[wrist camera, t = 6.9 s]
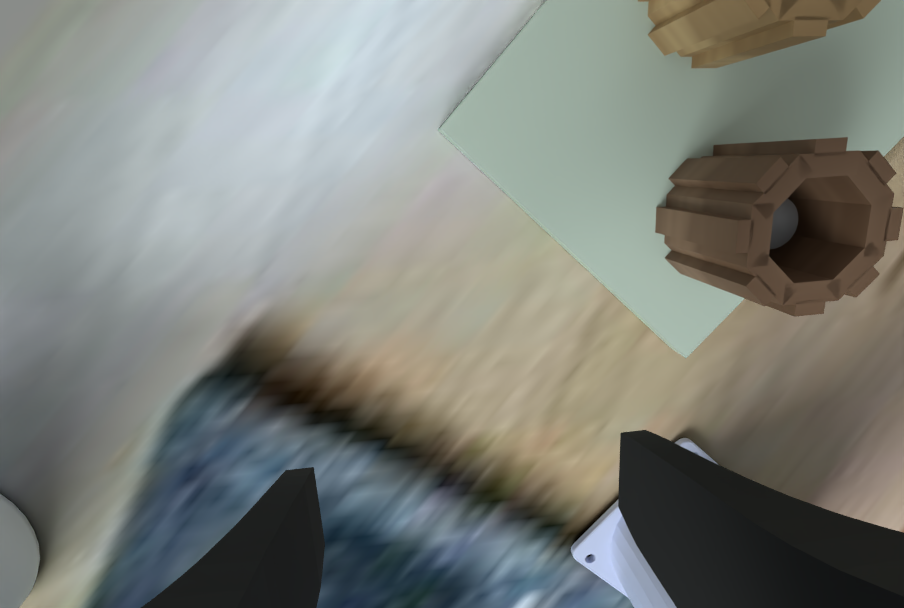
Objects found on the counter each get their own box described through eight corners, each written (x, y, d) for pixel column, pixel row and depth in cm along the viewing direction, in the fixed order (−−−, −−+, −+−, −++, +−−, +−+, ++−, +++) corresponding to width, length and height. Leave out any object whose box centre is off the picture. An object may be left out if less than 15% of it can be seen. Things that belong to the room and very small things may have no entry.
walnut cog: (809, 208, 21) (933, 221, 16) (713, 306, 22) (805, 347, 17) (728, 113, 20) (837, 97, 15) (628, 222, 20) (701, 240, 15)
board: (929, 83, 21) (1053, 64, 17) (671, 348, 23) (730, 387, 19) (722, -212, 18) (818, -321, 14) (437, 129, 20) (449, 121, 16)
